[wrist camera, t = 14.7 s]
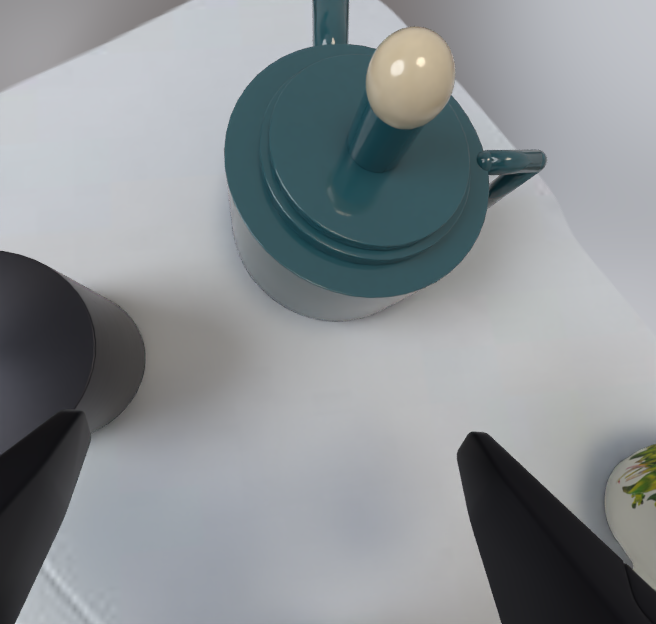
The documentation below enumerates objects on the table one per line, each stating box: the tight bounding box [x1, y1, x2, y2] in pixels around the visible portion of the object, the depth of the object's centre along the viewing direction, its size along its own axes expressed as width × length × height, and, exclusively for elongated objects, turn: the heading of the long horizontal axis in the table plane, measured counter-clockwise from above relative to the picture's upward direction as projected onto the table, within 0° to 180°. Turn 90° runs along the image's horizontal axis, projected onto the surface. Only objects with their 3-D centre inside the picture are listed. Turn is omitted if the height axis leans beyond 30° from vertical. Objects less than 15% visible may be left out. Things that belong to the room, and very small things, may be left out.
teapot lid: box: [268, 26, 470, 250], centre depth 14 cm, size 9×9×6 cm
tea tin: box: [0, 251, 145, 455], centre depth 17 cm, size 8×8×7 cm
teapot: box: [224, 0, 547, 321], centre depth 22 cm, size 18×17×8 cm
